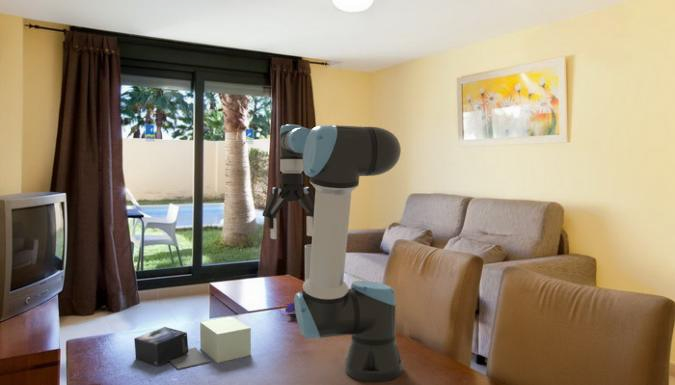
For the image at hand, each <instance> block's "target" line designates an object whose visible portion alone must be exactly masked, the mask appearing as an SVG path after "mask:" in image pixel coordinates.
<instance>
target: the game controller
mask: <svg viewBox="0 0 675 385" xmlns="http://www.w3.org/2000/svg"><path fill="white" fill-rule="evenodd" d="M284 301H286V300H283V302H284ZM287 301H288V302H289V303H288V304H286V308H285V313H288V315H286V316H292V315H296V313H294V312H295V304H294V301H293V302H290V300H288V299H287ZM279 307H281V304H280V306H279ZM279 310H280V312H282V311H281V309H279ZM289 313H292V314H289ZM281 314H282V315H283V316H284V314H283V313H281Z"/></svg>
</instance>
